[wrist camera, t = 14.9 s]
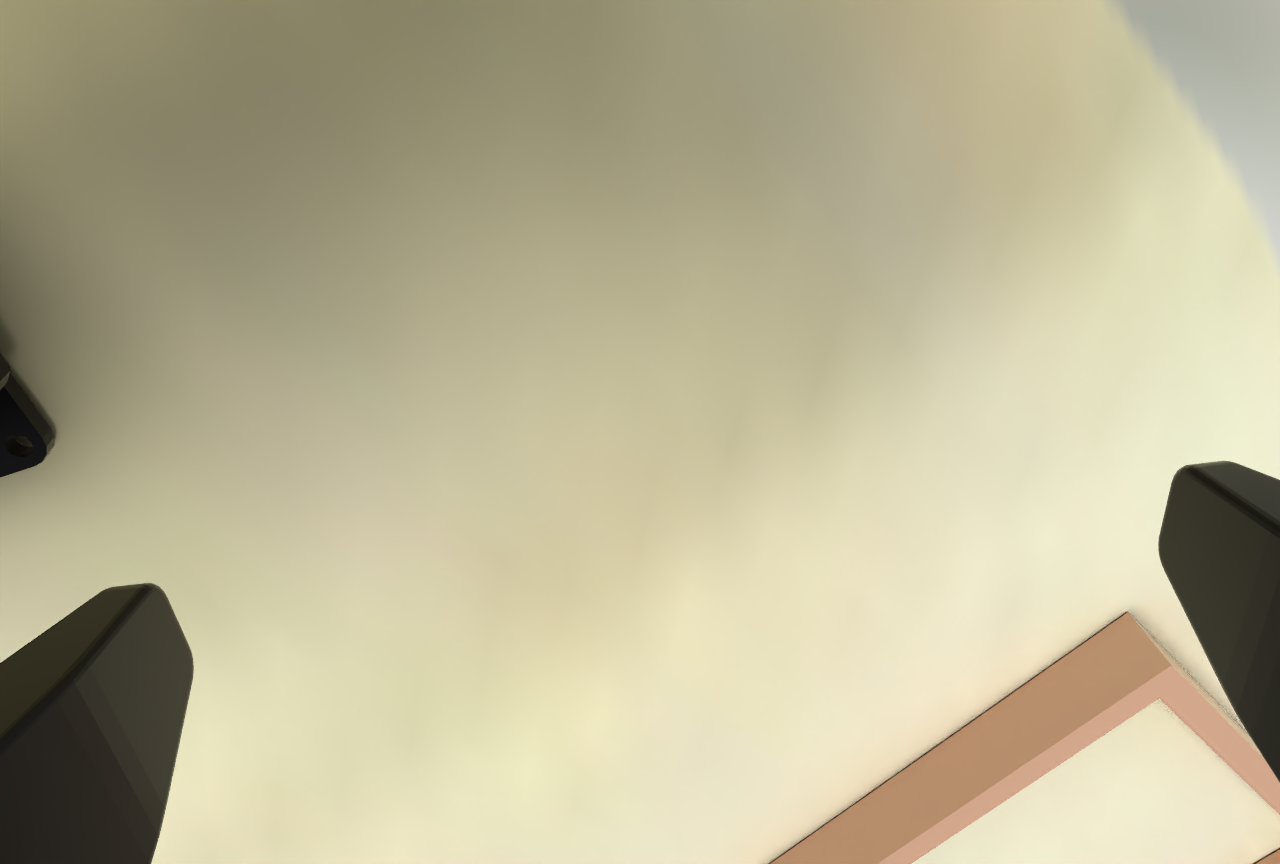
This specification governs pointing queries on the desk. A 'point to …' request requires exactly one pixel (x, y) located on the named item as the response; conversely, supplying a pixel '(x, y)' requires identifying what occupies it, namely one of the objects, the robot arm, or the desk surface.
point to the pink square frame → (1031, 750)
